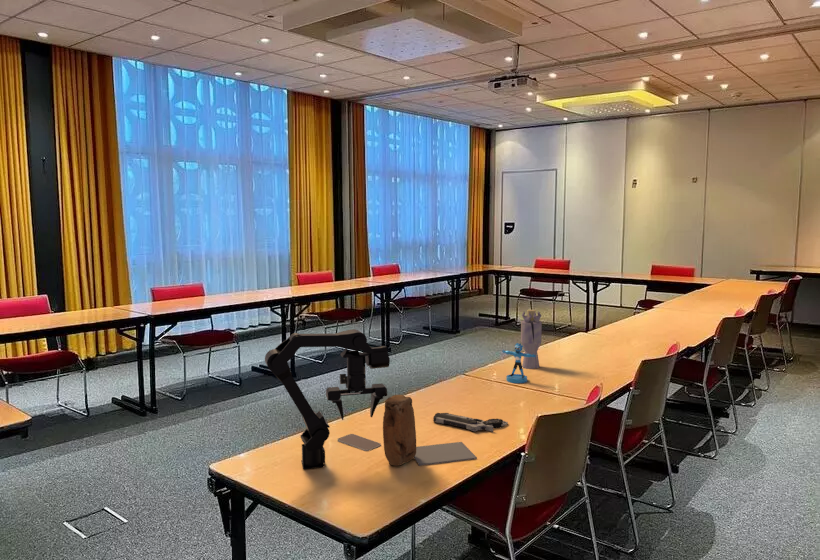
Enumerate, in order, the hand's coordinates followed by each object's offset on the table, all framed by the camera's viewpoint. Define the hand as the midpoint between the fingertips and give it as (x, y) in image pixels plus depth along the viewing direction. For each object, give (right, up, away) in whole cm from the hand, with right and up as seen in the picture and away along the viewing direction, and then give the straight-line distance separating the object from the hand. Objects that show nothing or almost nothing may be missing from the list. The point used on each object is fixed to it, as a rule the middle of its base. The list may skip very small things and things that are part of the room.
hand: (356, 418), depth 187 cm
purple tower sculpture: (+79, -1, +118) cm, 142 cm away
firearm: (+39, -10, +33) cm, 52 cm away
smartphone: (-1, -12, +14) cm, 19 cm away
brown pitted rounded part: (+14, -13, -2) cm, 19 cm away
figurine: (+68, -4, +91) cm, 114 cm away
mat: (+27, -12, +4) cm, 30 cm away
